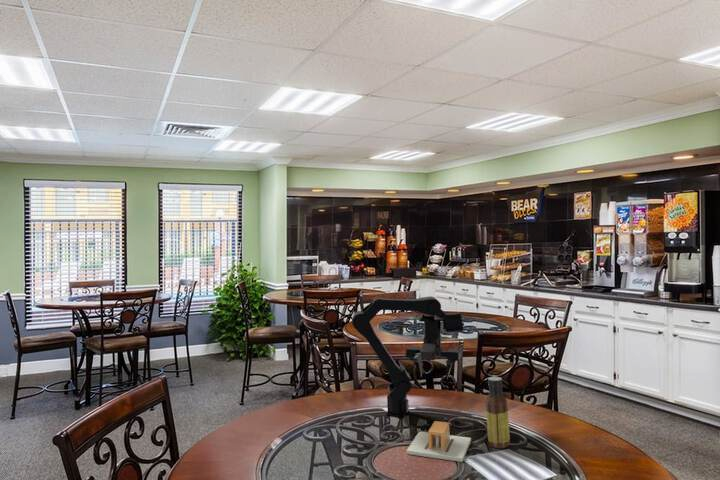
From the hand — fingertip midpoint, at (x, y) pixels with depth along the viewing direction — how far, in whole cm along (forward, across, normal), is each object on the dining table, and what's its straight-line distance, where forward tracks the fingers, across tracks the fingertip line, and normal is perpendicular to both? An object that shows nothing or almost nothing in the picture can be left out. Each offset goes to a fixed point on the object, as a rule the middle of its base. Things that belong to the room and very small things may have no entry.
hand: (433, 377), depth 177 cm
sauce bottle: (+12, +24, -20) cm, 34 cm away
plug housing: (+11, +8, -27) cm, 30 cm away
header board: (+12, +8, -27) cm, 31 cm away
